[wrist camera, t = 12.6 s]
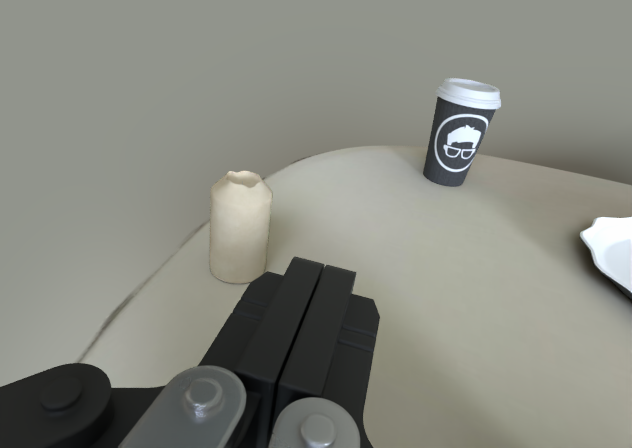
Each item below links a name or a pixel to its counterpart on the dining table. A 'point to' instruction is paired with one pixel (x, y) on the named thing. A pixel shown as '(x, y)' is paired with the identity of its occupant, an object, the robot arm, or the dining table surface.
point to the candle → (239, 227)
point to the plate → (612, 249)
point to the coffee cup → (458, 128)
